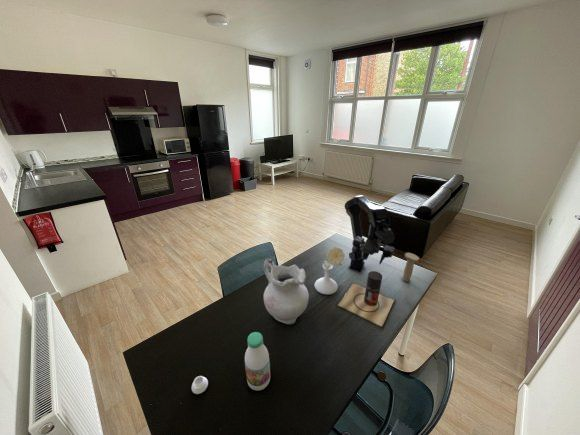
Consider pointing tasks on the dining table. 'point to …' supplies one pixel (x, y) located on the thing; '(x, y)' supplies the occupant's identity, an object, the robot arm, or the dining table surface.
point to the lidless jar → (199, 385)
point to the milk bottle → (257, 362)
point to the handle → (409, 266)
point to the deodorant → (372, 288)
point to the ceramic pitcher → (285, 292)
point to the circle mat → (356, 305)
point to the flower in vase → (326, 283)
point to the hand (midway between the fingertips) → (370, 260)
